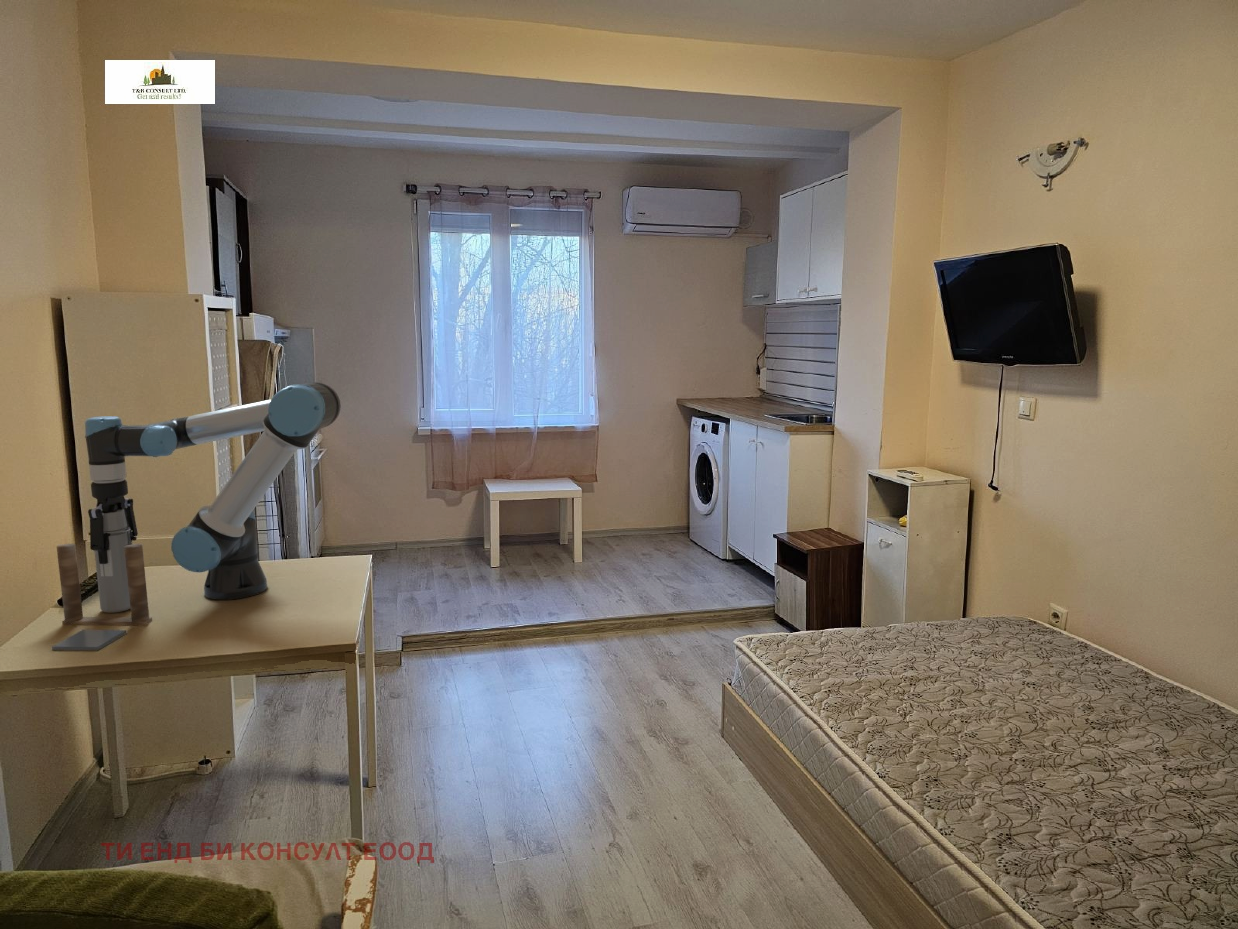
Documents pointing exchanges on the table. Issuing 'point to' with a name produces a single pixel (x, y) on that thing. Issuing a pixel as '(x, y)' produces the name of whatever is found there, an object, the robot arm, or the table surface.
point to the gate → (73, 596)
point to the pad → (89, 640)
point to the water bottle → (115, 565)
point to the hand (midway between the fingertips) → (117, 571)
